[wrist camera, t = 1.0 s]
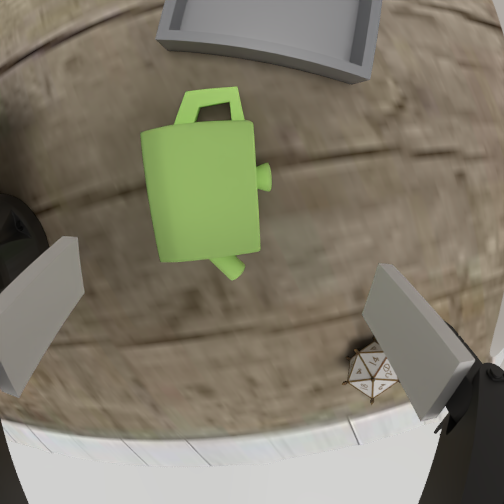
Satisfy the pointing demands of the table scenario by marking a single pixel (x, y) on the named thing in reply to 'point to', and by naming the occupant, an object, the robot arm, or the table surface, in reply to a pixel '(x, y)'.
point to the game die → (371, 371)
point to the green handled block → (205, 184)
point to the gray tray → (279, 33)
